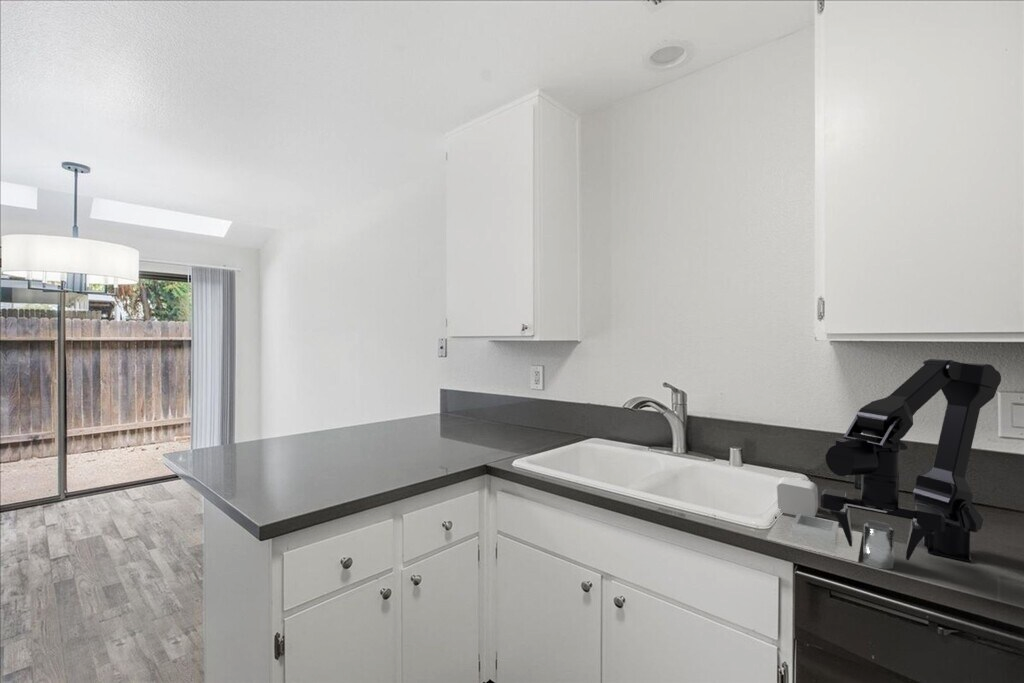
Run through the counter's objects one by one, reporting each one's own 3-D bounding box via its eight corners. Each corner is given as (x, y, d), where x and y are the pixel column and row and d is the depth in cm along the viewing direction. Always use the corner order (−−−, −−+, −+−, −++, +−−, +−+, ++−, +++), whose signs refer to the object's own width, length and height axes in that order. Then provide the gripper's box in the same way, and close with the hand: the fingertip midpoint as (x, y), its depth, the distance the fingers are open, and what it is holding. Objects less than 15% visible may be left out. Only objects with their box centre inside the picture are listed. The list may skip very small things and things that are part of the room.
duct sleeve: (893, 562, 92) (893, 523, 92) (893, 571, 89) (894, 530, 89) (863, 555, 95) (864, 517, 95) (862, 563, 92) (863, 524, 91)
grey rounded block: (823, 506, 121) (822, 470, 119) (815, 527, 114) (814, 489, 112) (787, 498, 127) (786, 464, 125) (778, 518, 119) (776, 482, 117)
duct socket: (862, 535, 105) (862, 521, 105) (858, 562, 92) (858, 545, 92) (780, 517, 115) (780, 504, 115) (766, 539, 102) (767, 524, 102)
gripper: (941, 472, 92) (939, 551, 92) (826, 456, 104) (825, 526, 104) (946, 486, 83) (944, 574, 84) (820, 466, 95) (819, 543, 95)
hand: (878, 552), depth 92 cm, fingers open, 8 cm apart
